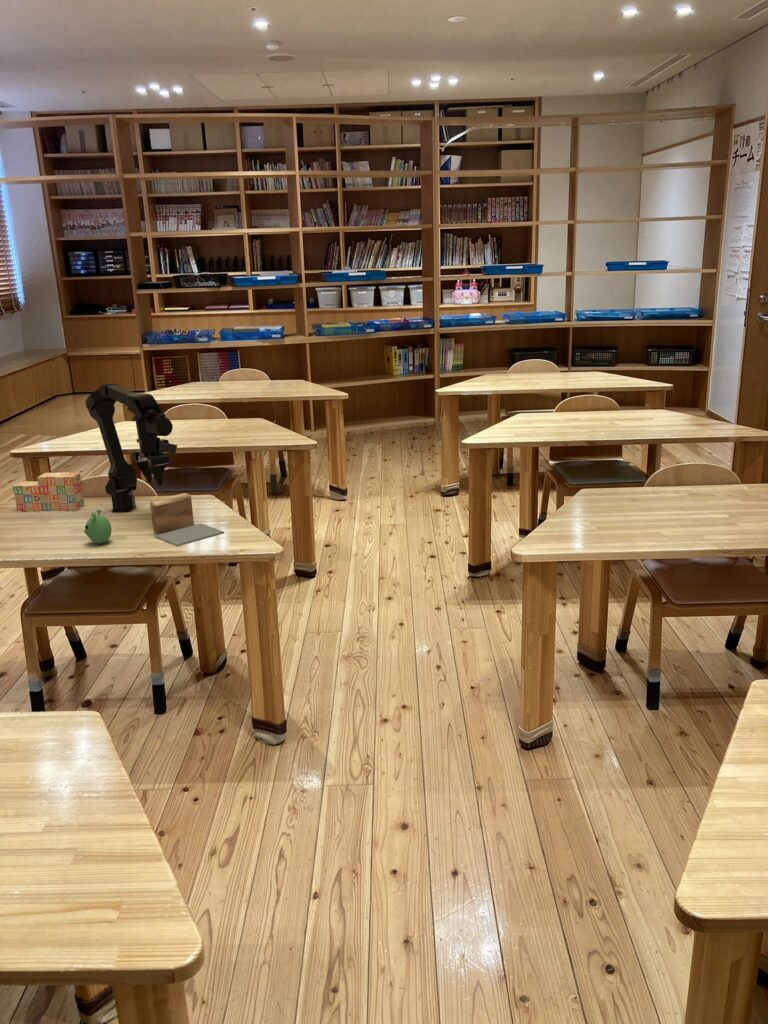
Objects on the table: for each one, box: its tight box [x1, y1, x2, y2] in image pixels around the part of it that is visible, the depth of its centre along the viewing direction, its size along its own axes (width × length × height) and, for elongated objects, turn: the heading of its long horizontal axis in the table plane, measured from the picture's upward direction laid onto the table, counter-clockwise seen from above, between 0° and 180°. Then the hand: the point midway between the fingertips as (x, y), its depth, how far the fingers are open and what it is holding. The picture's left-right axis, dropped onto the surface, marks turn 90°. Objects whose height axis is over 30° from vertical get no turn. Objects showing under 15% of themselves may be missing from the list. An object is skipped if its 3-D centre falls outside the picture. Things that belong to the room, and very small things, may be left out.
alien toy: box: [83, 509, 112, 545], centre depth 237 cm, size 7×8×10 cm
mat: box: [154, 522, 225, 547], centre depth 243 cm, size 13×16×1 cm
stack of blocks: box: [12, 471, 85, 512], centre depth 275 cm, size 21×6×12 cm, turn 85°
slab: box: [149, 492, 195, 535], centre depth 248 cm, size 4×12×10 cm, turn 134°
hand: (155, 483), depth 256 cm, fingers open, 9 cm apart
